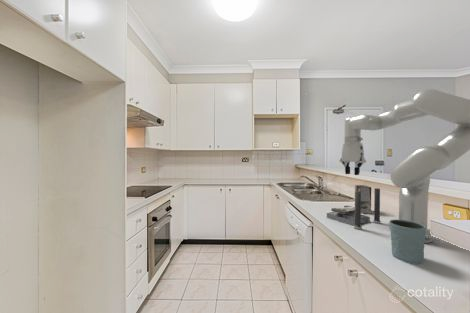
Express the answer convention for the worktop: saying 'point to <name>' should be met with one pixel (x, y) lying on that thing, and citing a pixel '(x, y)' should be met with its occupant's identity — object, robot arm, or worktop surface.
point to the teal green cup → (407, 240)
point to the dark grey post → (377, 206)
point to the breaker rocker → (347, 208)
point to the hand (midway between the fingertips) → (352, 174)
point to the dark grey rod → (357, 210)
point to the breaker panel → (346, 216)
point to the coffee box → (365, 198)
